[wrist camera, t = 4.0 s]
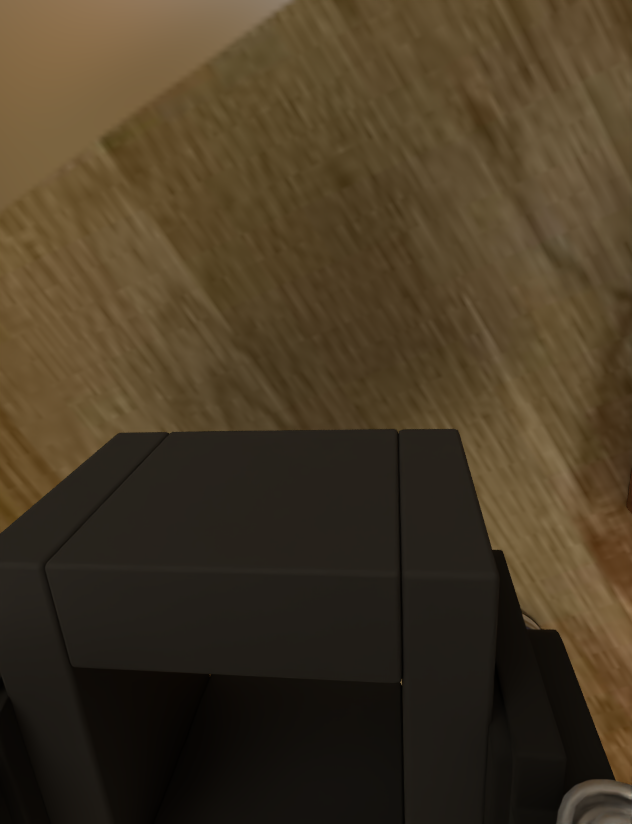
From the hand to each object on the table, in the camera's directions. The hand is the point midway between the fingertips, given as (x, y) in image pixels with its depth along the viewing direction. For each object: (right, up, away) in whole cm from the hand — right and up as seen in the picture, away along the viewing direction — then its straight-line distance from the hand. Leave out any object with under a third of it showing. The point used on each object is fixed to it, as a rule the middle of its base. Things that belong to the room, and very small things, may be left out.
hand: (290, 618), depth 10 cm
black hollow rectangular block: (0, 0, +1) cm, 1 cm away
